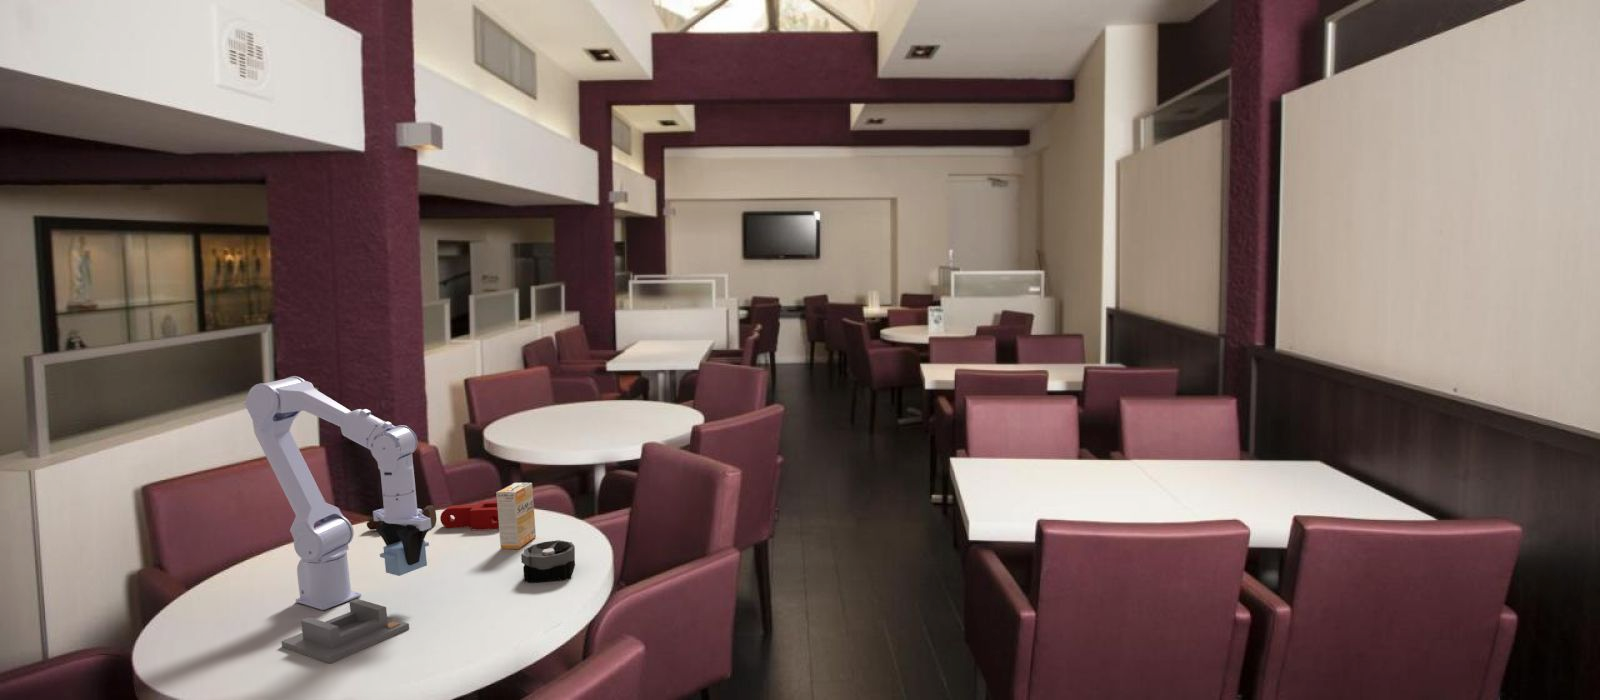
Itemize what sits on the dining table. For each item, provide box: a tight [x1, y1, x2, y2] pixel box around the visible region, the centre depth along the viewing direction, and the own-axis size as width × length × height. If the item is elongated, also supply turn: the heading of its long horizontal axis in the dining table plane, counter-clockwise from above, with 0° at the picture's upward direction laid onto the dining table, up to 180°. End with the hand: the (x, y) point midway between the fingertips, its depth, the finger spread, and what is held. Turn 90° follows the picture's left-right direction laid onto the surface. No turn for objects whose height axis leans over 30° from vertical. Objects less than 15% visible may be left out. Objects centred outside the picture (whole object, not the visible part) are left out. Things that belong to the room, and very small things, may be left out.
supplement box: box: [495, 482, 537, 550], centre depth 210 cm, size 8×5×13 cm, turn 168°
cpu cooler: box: [520, 539, 576, 584], centre depth 191 cm, size 10×6×10 cm
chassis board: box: [280, 598, 410, 664], centre depth 163 cm, size 14×15×4 cm
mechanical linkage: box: [440, 500, 499, 531], centre depth 225 cm, size 16×7×5 cm, turn 91°
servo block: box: [379, 539, 430, 577], centre depth 177 cm, size 4×8×6 cm, turn 149°
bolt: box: [366, 505, 437, 531], centre depth 224 cm, size 6×5×15 cm
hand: (405, 561), depth 177 cm, fingers closed on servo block, 4 cm apart
